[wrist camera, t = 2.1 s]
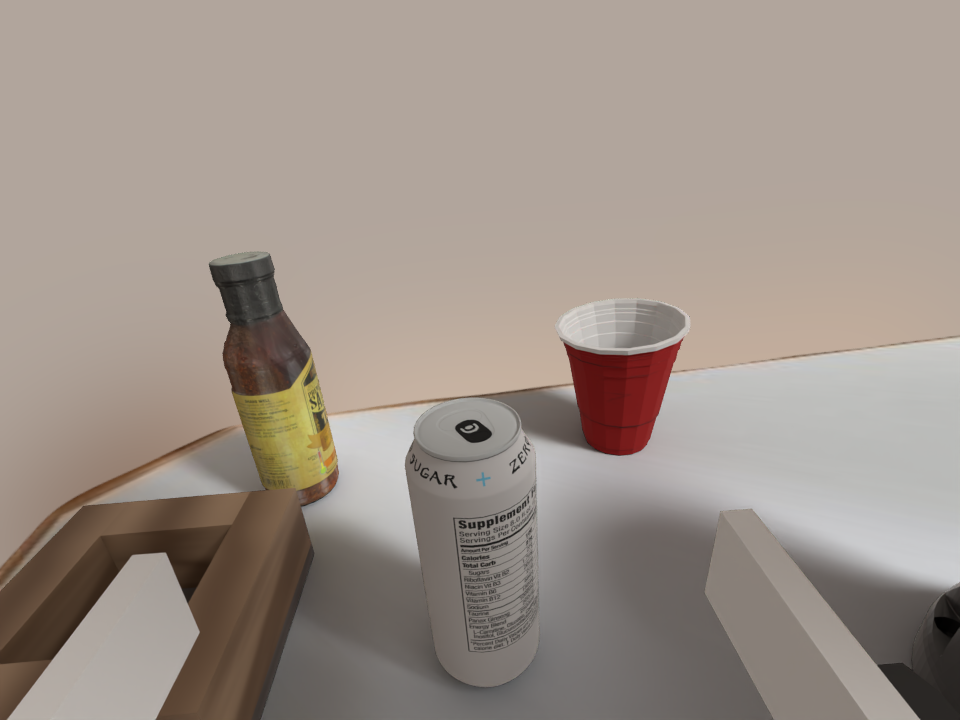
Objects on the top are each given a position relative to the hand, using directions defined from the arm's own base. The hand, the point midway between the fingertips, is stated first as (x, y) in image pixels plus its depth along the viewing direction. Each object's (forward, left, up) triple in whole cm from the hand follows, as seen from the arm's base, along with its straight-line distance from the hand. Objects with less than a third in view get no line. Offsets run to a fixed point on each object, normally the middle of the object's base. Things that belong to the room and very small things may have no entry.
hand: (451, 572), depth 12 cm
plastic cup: (-14, -29, -17) cm, 36 cm away
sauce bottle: (+14, -26, -17) cm, 34 cm away
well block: (+18, -11, -17) cm, 28 cm away
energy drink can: (-1, -10, -17) cm, 20 cm away
